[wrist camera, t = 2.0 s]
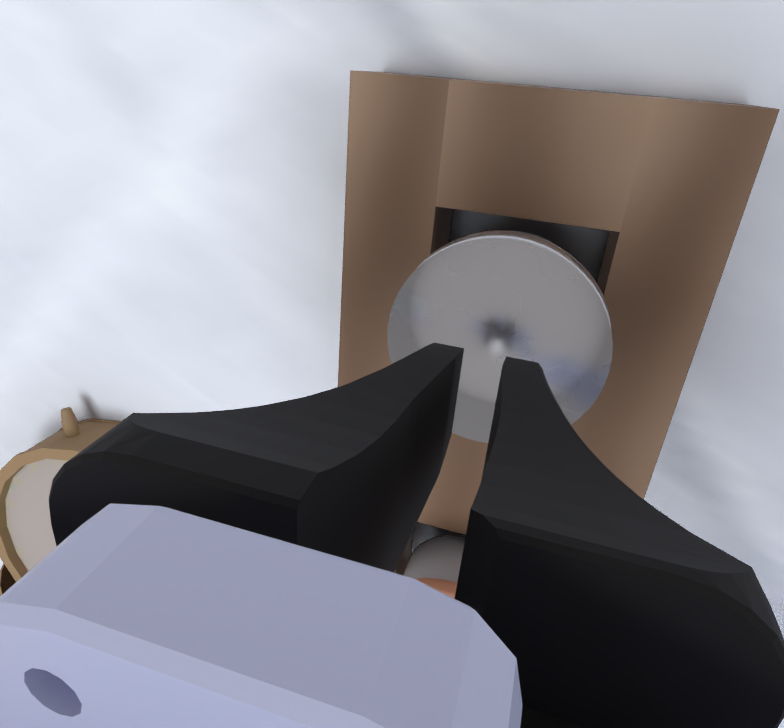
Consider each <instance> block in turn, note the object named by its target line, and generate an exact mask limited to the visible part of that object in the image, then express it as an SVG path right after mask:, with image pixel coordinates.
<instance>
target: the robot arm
mask: <svg viewBox="0 0 784 728" xmlns="http://www.w3.org/2000/svg"><path fill="white" fill-rule="evenodd" d="M463 353H464V348H460V347H455V346H450V345H445V344H440V343H432V344H429V345H427V346H425V347H423V348H421V349H420V350H418V351H416V352H414V353H412V354H410V355H408V356H407V357H405V358H403V359H401V360H399V361H397V362H395V363H393V364H391V365H389V366H387V367H385V368H383V369H381V370H378V371H376V372H374V373H371V374H369V375H367V376H364V377H362V378H360V379H358V380H355V381H353V382H351V383H348V384H345V385H343V386H340V387H337V388H334V389H331V390H328V391H324V392H321V393H318V394H314V395H311V396H307V397H303V398H298V399H293V400H288V401H284V402H279V403H274V404H269V405H264V406H258V407H250V408H242V409H235V410H224V411H212V412H196V413H133V414H131V415H130V416H128V417H127V418H126V419H124V420H123V421H122V422H120V423H119V424H118V425H116V426H115V427H113V428H112V429H111V430H109V431H108V432H107V433H105V434H104V435H103V436H101V437H100V438H99V439H97V440H96V441H94V442H93V443H92V444H90V445H89V446H88V447H86V448H85V449H84V450H82V451H81V452H80V453H78V454H77V455H75V456H74V457H73V458H71V459H70V460H69V461H67V462H66V463H65V464H63V466H62V467H61V469H60V470H59V471H58V473H57V474H56V475H55V477H54V478H53V481H52V485H51V490H50V494H49V509H50V518H51V526H52V530H53V534H54V538H55V542H56V546H57V547H56V548H55V549H53V550H52V551H51V552H50V553H49V554H48V555H47V556H46V557H44V558H43V559H42V560H41V561H40V562H39V563H38V564H36V565H35V566H34V567H33V568H32V569H31V570H30V571H29V572H27V573H26V574H25V575H24V576H23V577H22V578H21V579H19V580H18V581H17V582H16V583H15V584H14V585H13V586H11V587H10V588H9V589H8V590H7V591H6V592H5V593H4V594H2V595H1V596H0V728H778V726H779V724H780V723H781V721H782V720H783V718H784V639H783V636H782V634H781V631H780V628H779V625H778V623H777V620H776V618H775V616H774V613H773V611H772V608H771V606H770V604H769V602H768V600H767V598H766V596H765V594H764V592H763V590H762V588H761V586H760V584H759V582H758V580H757V577H756V575H755V573H754V571H753V569H752V567H750V566H748V565H747V564H745V563H743V562H741V561H740V560H738V559H736V558H734V557H733V556H731V555H729V554H727V553H726V552H724V551H722V550H720V549H719V548H717V547H715V546H713V545H712V544H710V543H708V542H706V541H704V540H703V539H701V538H699V537H697V536H696V535H694V534H692V533H691V532H689V531H688V530H686V529H684V528H683V527H681V526H680V525H679V524H677V523H676V522H674V521H673V520H671V519H670V518H668V517H667V516H665V515H664V514H663V513H661V512H660V511H658V510H657V509H655V508H654V507H653V506H651V505H650V504H649V503H647V502H646V501H645V500H644V499H642V498H641V497H640V496H638V495H637V494H636V493H635V492H634V491H633V490H631V489H630V488H629V487H628V486H627V485H626V484H624V483H623V482H622V481H621V480H620V479H619V478H617V477H616V476H615V475H614V474H613V473H612V472H611V471H610V470H609V469H608V468H607V467H606V466H605V465H604V464H603V463H602V462H601V461H600V460H599V459H598V458H597V457H596V456H595V454H594V453H593V452H592V451H591V450H590V449H589V448H588V447H587V446H586V444H585V443H584V442H583V441H582V440H581V438H580V437H579V436H578V434H577V433H576V432H575V430H574V429H573V427H572V426H571V424H570V423H569V421H568V420H567V418H566V416H565V415H564V413H563V411H562V409H561V408H560V406H559V404H558V403H557V401H556V399H555V397H554V395H553V393H552V391H551V389H550V387H549V385H548V382H547V380H546V377H545V375H544V372H543V369H542V367H541V366H540V364H539V363H538V362H533V361H528V360H522V359H517V358H512V357H507V356H506V358H505V360H504V363H503V366H502V371H501V376H500V381H499V387H498V392H497V398H496V403H495V409H494V414H493V420H492V425H491V430H490V436H489V441H488V447H487V452H486V458H485V463H484V469H483V474H482V479H481V484H480V486H479V489H478V491H477V494H476V497H475V499H474V502H473V504H472V506H471V509H470V514H469V520H468V525H467V531H466V537H465V542H464V548H463V554H462V559H461V565H460V570H459V576H458V582H457V587H456V593H455V599H454V598H452V597H450V596H448V595H446V594H444V593H442V592H440V591H438V590H436V589H434V588H432V587H430V586H428V585H426V584H424V583H422V582H420V581H418V580H416V579H414V578H411V577H407V576H404V575H400V574H397V573H394V572H395V569H396V567H397V565H398V562H399V560H400V557H401V555H402V553H403V551H404V549H405V547H406V544H407V542H408V540H409V538H410V536H411V534H412V532H413V530H414V527H415V525H416V523H417V521H418V519H419V517H420V515H421V513H422V510H423V508H424V506H425V504H426V502H427V500H428V498H429V496H430V493H431V491H432V489H433V487H434V485H435V483H436V480H437V478H438V476H439V474H440V471H441V467H442V464H443V461H444V458H445V455H446V451H447V448H448V445H449V441H450V438H451V434H452V428H453V421H454V414H455V407H456V401H457V394H458V387H459V380H460V373H461V367H462V360H463Z"/></svg>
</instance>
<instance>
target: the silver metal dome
mask: <svg viewBox="0 0 784 728" xmlns="http://www.w3.org/2000/svg"><path fill="white" fill-rule="evenodd" d="M387 342H388V350H389V356H390V360H391V364H393V363H395V362H397V361H399V360H401V359H403V358H405V357H407V356H408V355H410V354H412V353H414V352H416V351H418V350H420V349H421V348H423V347H425V346H427V345H429V344H432V343H440V344H445V345H450V346H455V347H460V348H464V353H463V360H462V367H461V373H460V380H459V387H458V394H457V401H456V407H455V414H454V421H453V428H452V433H454V434H457V435H459V436H462V437H464V438H467V439H471V440H474V441H478V442H484V443H488V441H489V436H490V430H491V425H492V420H493V414H494V409H495V403H496V398H497V392H498V387H499V381H500V376H501V371H502V366H503V363H504V360H505V358H506V356H507V357H512V358H517V359H522V360H528V361H533V362H538V363H539V364H540V366H541V367H542V369H543V372H544V375H545V377H546V380H547V382H548V385H549V387H550V389H551V391H552V393H553V395H554V397H555V399H556V401H557V403H558V404H559V406H560V408H561V409H562V411H563V413H564V415H565V416H566V418H567V420H568V421H569V423H570V424H572V423H574V422H575V421H576V420H578V419H579V418H580V417H581V416H582V415H583V414H584V413H585V412H586V411H587V410H588V409H589V408H590V407H591V406H592V404H593V403H594V402H595V400H596V399H597V397H598V396H599V394H600V392H601V390H602V389H603V387H604V385H605V382H606V379H607V377H608V374H609V371H610V366H611V361H612V349H613V341H612V332H611V323H610V315H609V311H608V308H607V304H606V301H605V299H604V296H603V294H602V292H601V289H600V288H599V286H598V285H597V283H596V281H595V280H594V278H593V277H592V275H591V274H590V273H589V272H588V270H587V269H586V268H585V267H584V266H583V265H582V264H581V263H580V262H579V261H578V260H577V259H576V258H575V257H573V256H572V255H571V254H570V253H568V252H567V251H565V250H564V249H562V248H561V247H559V246H557V245H555V244H554V243H552V242H551V241H549V240H547V239H545V238H543V237H541V236H538V235H536V234H533V233H528V232H523V231H504V230H497V231H484V232H479V233H473V234H469V235H466V236H463V237H460V238H457V239H455V240H453V241H451V242H449V243H447V244H445V245H443V246H442V247H440V248H439V249H437V250H436V251H434V252H433V253H432V254H431V255H430V256H428V257H427V258H426V259H425V260H424V261H423V262H422V263H421V264H420V265H419V266H418V267H417V269H416V270H415V271H414V272H413V273H412V274H411V275H410V277H409V278H408V279H407V280H406V281H405V283H404V284H403V286H402V288H401V289H400V291H399V292H398V295H397V297H396V299H395V301H394V303H393V306H392V310H391V313H390V316H389V323H388V337H387Z"/></svg>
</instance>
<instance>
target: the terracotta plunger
mask: <svg viewBox="0 0 784 728" xmlns="http://www.w3.org/2000/svg"><path fill="white" fill-rule="evenodd" d="M464 542H465V537H460V536H439V537H434V538H431V539H428V540H426V541H424V542H423V543H421V544H420V545H419V546H417V547H416V549H415V550H414V551H413V553H412V554H411V556H410V559H409V561H408V564H407V567H406V570H405V572H404V576H407V577H411V578H414V579H416V580H418V581H420V582H422V583H424V584H426V585H428V586H430V587H432V588H434V589H436V590H438V591H440V592H442V593H444V594H446V595H448V596H450V597H452V598H454V599H455V593H456V587H457V582H458V576H459V570H460V565H461V559H462V554H463V548H464Z"/></svg>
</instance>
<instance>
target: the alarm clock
mask: <svg viewBox="0 0 784 728" xmlns="http://www.w3.org/2000/svg"><path fill="white" fill-rule="evenodd" d="M61 418H62V425H63V428H61V429H60V430H59V431H58V432H57V433H55V434H54V435H52V436H50V437H49V438H47V439H45V440H44V441H42V442H40V443H39V444H37V445H35V446H34V447H32V448H30V449H28V450H27V451H25V452H22V453H19V454H17V455H16V456H14V457H13V458H12V459H11V460H10V461H9V462H8V463H7V464H6V465H5V466H4V467H3V468H2V469H1V470H0V558H1V560H2V561H3V563H4V564H3V566H2V568H1V570H0V596H1V595H2V594H4V593H5V592H6V591H7V590H8V589H9V588H10V587H11V586H13V585H14V584H15V583H16V582H17V581H18V580H19V579H21V578H22V577H23V576H24V575H25V574H26V573H27V572H29V571H30V570H31V569H32V568H33V567H34V566H35V565H36V564H38V563H39V562H40V561H41V560H42V559H43V558H44V557H46V556H47V555H48V554H49V553H50V552H51V551H52V550H53V549H55V548H56V547H57V546H56V542H55V538H54V534H53V530H52V526H51V518H50V509H49V494H50V490H51V485H52V481H53V478H54V477H55V475H56V474H57V473H58V471H59V470H60V469H61V467H62V466H63V464H65V463H66V462H67V461H69V460H70V459H71V458H73V457H74V456H75V455H77V454H78V453H80V452H81V451H82V450H84V449H85V448H86V447H88V446H89V445H90V444H92V443H93V442H94V441H96V440H97V439H99V438H100V437H101V436H103V435H104V434H105V433H107V432H108V431H109V430H111V429H112V428H113V427H115V426H116V425H118V424H119V423H120V422H121V421H112V420H100V419H87V420H84V421H80V422H77V419H76V417H75V415H74V413H73V411H72V409H71V408H70V407H68V408H64V409H62V410H61Z"/></svg>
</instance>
